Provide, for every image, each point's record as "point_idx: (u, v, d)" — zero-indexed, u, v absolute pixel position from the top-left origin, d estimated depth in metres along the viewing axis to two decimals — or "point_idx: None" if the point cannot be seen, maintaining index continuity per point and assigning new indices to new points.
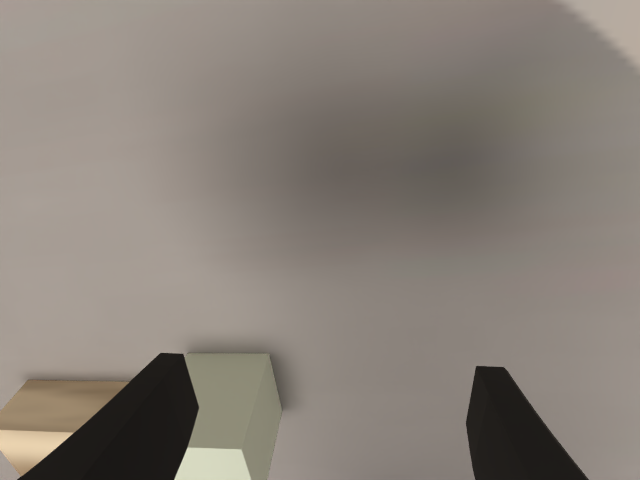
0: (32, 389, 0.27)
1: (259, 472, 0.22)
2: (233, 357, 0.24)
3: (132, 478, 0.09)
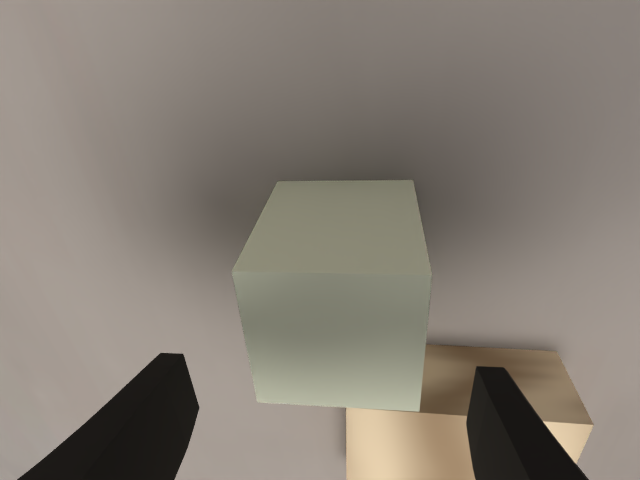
0: None
1: (365, 253, 0.11)
2: None
3: (132, 478, 0.09)
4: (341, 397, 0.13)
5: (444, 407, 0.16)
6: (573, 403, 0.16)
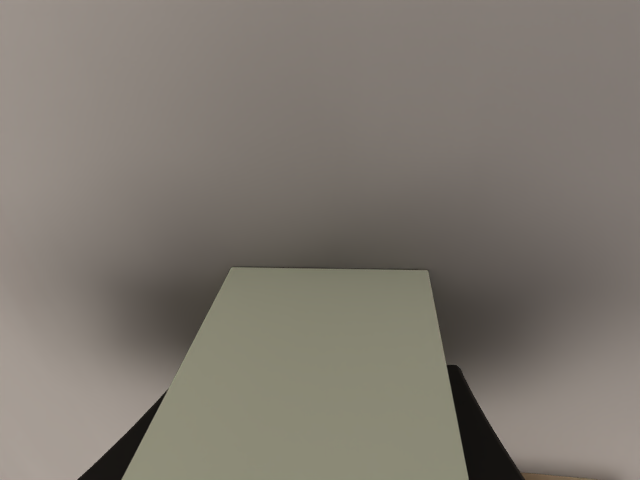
0: None
1: (353, 460, 0.06)
2: None
3: None
4: None
5: None
6: None
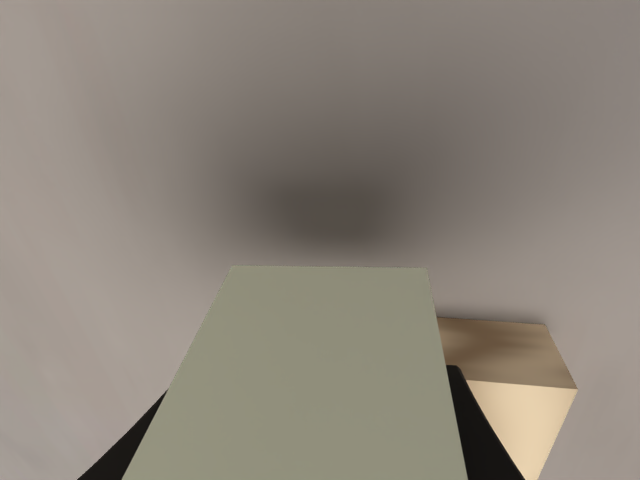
0: None
1: (352, 454, 0.06)
2: None
3: None
4: None
5: None
6: (559, 370, 0.17)
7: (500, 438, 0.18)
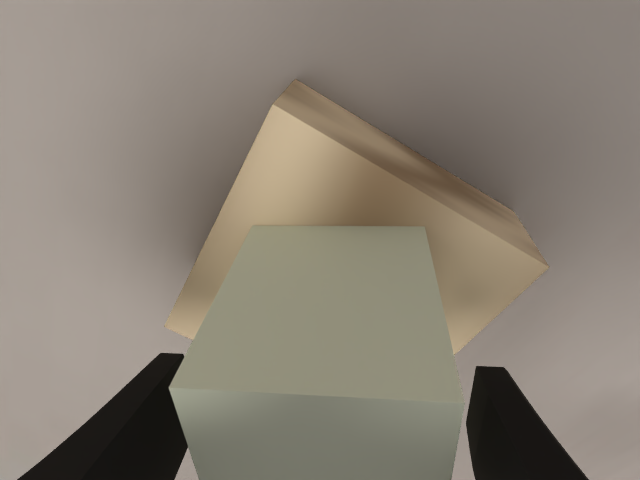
0: None
1: (364, 355, 0.08)
2: None
3: (132, 478, 0.09)
4: None
5: (396, 172, 0.12)
6: (529, 245, 0.13)
7: None
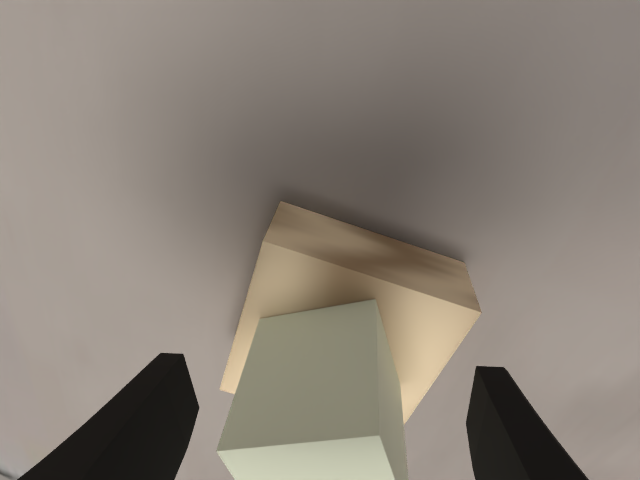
0: None
1: (325, 412, 0.13)
2: None
3: (132, 478, 0.09)
4: None
5: (356, 266, 0.17)
6: (468, 295, 0.17)
7: (395, 353, 0.18)
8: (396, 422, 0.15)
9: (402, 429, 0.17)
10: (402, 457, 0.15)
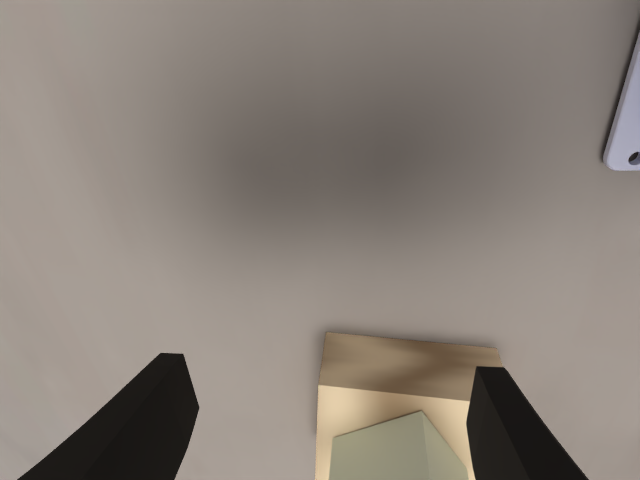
0: None
1: None
2: None
3: (132, 478, 0.09)
4: None
5: (398, 388, 0.20)
6: None
7: (453, 446, 0.21)
8: None
9: None
10: None
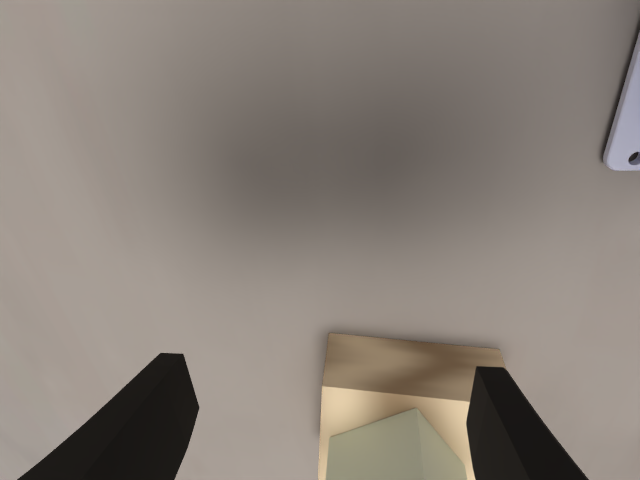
0: None
1: None
2: None
3: (132, 478, 0.09)
4: None
5: (402, 388, 0.20)
6: None
7: (456, 447, 0.21)
8: None
9: None
10: None
